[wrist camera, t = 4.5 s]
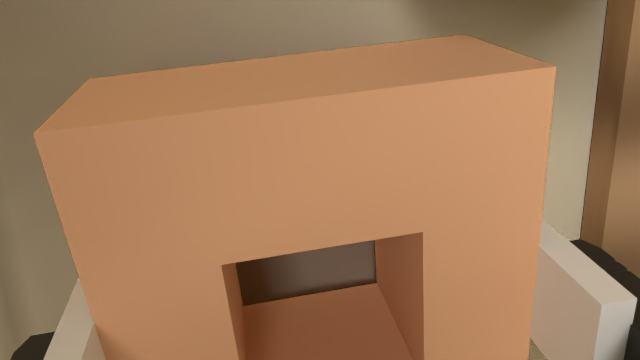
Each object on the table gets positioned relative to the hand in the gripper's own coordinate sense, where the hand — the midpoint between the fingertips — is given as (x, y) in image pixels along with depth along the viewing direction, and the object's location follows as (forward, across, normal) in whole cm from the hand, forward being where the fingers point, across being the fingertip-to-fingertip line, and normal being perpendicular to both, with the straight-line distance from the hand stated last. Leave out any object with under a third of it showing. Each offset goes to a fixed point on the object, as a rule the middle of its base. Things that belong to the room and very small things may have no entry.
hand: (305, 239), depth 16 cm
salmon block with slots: (0, 0, 0) cm, 0 cm away
